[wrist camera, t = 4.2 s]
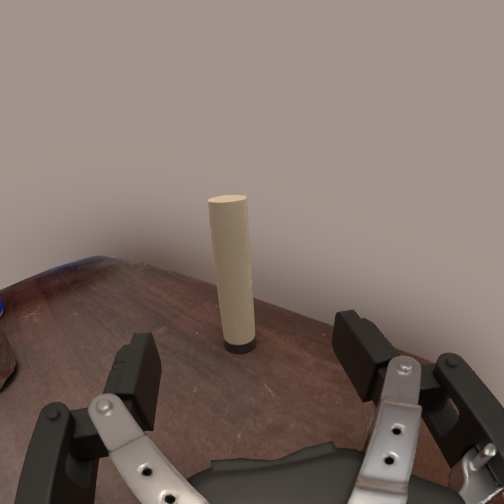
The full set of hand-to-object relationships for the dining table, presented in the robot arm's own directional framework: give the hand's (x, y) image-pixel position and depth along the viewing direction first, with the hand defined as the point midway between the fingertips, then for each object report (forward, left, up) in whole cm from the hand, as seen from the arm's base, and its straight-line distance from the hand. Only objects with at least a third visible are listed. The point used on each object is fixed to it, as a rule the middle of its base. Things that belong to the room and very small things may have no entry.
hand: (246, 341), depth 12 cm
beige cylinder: (-3, -10, -9) cm, 14 cm away
